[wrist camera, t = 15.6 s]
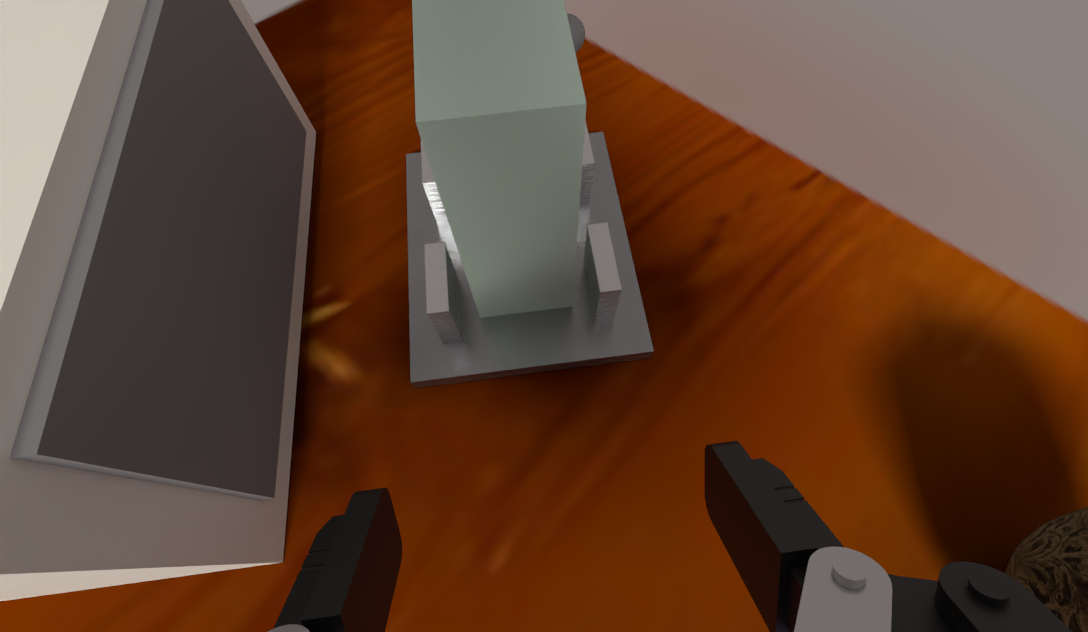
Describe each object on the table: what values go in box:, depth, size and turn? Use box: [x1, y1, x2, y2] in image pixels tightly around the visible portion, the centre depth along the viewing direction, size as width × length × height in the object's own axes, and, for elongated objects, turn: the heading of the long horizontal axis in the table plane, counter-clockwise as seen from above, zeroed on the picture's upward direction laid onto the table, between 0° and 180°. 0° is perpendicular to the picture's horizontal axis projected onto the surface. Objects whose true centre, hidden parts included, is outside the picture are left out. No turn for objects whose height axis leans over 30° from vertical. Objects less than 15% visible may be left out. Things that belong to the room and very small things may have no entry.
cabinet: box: [0, 0, 316, 601], centre depth 18 cm, size 10×21×12 cm, turn 7°
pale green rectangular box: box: [412, 0, 586, 318], centre depth 18 cm, size 5×7×11 cm
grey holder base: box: [406, 121, 654, 388], centre depth 22 cm, size 10×12×4 cm
